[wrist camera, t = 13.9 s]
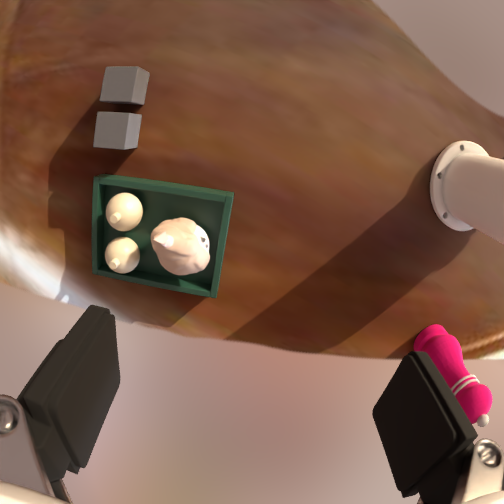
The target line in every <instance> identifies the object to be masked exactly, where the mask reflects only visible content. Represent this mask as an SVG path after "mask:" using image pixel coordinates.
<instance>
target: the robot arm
mask: <svg viewBox="0 0 504 504" xmlns="http://www.w3.org/2000/svg"><path fill="white" fill-rule="evenodd" d="M430 196H431V202H432V205H433V208H434V211H435V213H436V214H437V216H438V218H439V219H440V220H441V221H442V222H443V223H444V224H445V225H446V226H448V227H450V228H452V229H454V230H457V231H467V230H471V229H473V228H475V229H477V230H479V231H481V232H482V233H484V234H486V235H488V236H489V237H491V238H493V239H495V240H496V241H498V242H500V243H501V244H503V245H504V160H502V159H497V158H493V157H489V155H488V154H487V152H486V151H485V150H484V149H483V148H482V147H480V146H479V145H478V144H475V143H473V142H469V141H458V142H454V143H452V144H450V145H449V146H447V147H446V148H445V149H444V150H443V151H442V152H441V153H440V155H439V156H438V158H437V160H436V162H435V164H434V166H433V170H432V174H431V180H430ZM119 384H120V370H119V361H118V351H117V339H116V326H115V317H114V315H112V314H110V311H109V309H107V308H103V307H99V306H95V305H90V306H89V307H88V308H87V310H86V311H85V312H84V313H83V315H82V316H81V317H80V318H79V320H78V321H77V322H76V324H75V325H74V326H73V327H72V329H71V330H70V331H69V333H68V334H67V335H66V337H65V338H64V339H62V340H59V341H58V342H57V343H56V345H55V346H54V347H53V348H52V350H51V351H50V352H49V354H48V355H47V356H46V358H45V359H44V361H43V362H42V363H41V365H40V366H39V368H38V369H37V370H36V372H35V373H34V374H33V376H32V377H31V379H30V380H29V382H28V383H27V384H26V386H25V388H24V389H23V390H22V392H21V393H20V395H19V396H18V398H17V399H14V398H13V397H11V396H8V395H0V504H73V503H72V501H71V499H70V496H69V494H68V492H67V490H66V487H65V485H64V483H63V480H62V478H63V477H64V475H65V473H66V470H68V471H70V472H73V473H75V474H78V472H79V469H80V467H82V468H85V467H86V465H87V463H88V460H89V458H90V455H91V453H92V450H93V447H94V445H95V443H96V440H97V437H98V435H99V433H100V430H101V428H102V425H103V423H104V420H105V418H106V415H107V413H108V411H109V408H110V406H111V404H112V401H113V399H114V397H115V394H116V392H117V390H118V388H119ZM373 418H374V421H375V424H376V426H377V430H378V432H379V435H380V438H381V441H382V444H383V447H384V450H385V453H386V456H387V459H388V462H389V465H390V468H391V471H392V474H393V477H394V480H395V483H396V487H397V489H398V490H399V491H401V493H402V496H403V498H405V497H409V496H413V495H416V494H417V493H418V492H419V494H420V498H419V500H418V503H417V504H504V453H503V451H502V449H501V448H500V446H499V445H498V444H497V443H496V442H494V441H493V440H490V439H481V440H479V441H478V442H477V443H476V444H475V445H474V444H473V441H474V440H475V439H476V438H477V436H478V435H477V433H476V431H475V429H474V427H473V426H472V424H471V422H470V420H469V419H468V417H467V415H466V414H465V412H464V410H463V409H462V407H461V405H460V404H459V402H458V400H457V399H456V397H455V395H454V394H453V392H452V390H451V389H450V387H449V386H448V384H447V383H446V381H445V379H444V378H443V376H442V375H441V373H440V372H439V370H438V369H437V367H436V365H435V364H434V362H433V361H432V359H431V358H430V356H429V355H428V354H427V353H426V352H422V351H411V352H409V353H408V355H406V356H405V357H404V358H403V359H402V361H401V363H400V365H399V367H398V368H397V370H396V372H395V374H394V375H393V377H392V379H391V380H390V382H389V384H388V386H387V387H386V389H385V391H384V392H383V394H382V395H381V397H380V398H379V400H378V402H377V403H376V405H375V406H374V408H373Z"/></svg>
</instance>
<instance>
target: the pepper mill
mask: <svg viewBox="0 0 504 504" xmlns="http://www.w3.org/2000/svg"><path fill="white" fill-rule="evenodd" d="M414 351H422V352H426V353H427V354H428V355H429V356H430V358H431V359H432V361H433V362H434V364H435V365H436V367H437V369H438V370H439V372H440V373H441V375H442V376H443V378H444V379H445V381H446V383H447V384H448V386H449V387H450V389H451V390H452V392H453V394H454V395H455V397H456V399H457V400H458V402H459V404H460V405H461V407H462V409H463V410H464V412H465V414H466V415H467V417H468V419H469V420H470V422H471V424H474V423H476V422H477V424H478V426H480V427H484V426H486V425H487V424H488V422H489V417H488V415H486V414H487V413H488V412H489V410H490V408H491V404H492V394H491V391H490V390H489V388H488V387H487V386H485V385H482V384H479V380H478V379H477V378H476V376H475V375H470V374H469V373H468V371H467V370H466V368H465V366H464V363H463V358H462V351H461V347H460V344H459V343H458V341H457V339H456V338H455V337H454V336H452V335H448V333H447V332H446V331H445V329H444V328H443V327H442V326H440V325H431V326H428V327H427V328H425V329H424V330H422V331H421V332H420V333H419V335H418V336H417V338H416V339H415V342H414Z"/></svg>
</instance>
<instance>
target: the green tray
mask: <svg viewBox="0 0 504 504" xmlns="http://www.w3.org/2000/svg"><path fill="white" fill-rule="evenodd" d="M120 193H130V194H132V195H134V196H136V197H137V198H138V199H139V201H140V202H141V205H142V208H143V215H142V218H141V221H140V222H139V224H138V225H137V226H136V227H135V228H133V229H131V230H129V231H119V230H116V229H115V228H113V227H112V226H111V225H110V224H109V222H108V220H107V218H106V207H107V204H108V202H109V201H110V200H111V198H113V197H114V196H115V195H117V194H120ZM233 197H234V192H228V191H222V190H216V189H210V188H204V187H198V186H191V185H185V184H178V183H171V182H164V181H157V180H150V179H142V178H135V177H127V176H119V175H110V174H101V175H98V176H95V177H94V181H93V199H92V273H93V274H96V275H101V276H105V277H110V278H114V279H119V280H123V281H128V282H133V283H138V284H143V285H147V286H152V287H157V288H163V289H168V290H173V291H178V292H183V293H189V294H194V295H200V296H205V297H211V298H216V297H217V292H218V287H219V281H220V274H221V268H222V262H223V256H224V250H225V244H226V238H227V232H228V226H229V220H230V214H231V209H232V203H233ZM180 217H182V218H187V219H190V220H192V221H194V222H195V223H196V225H198V226H200V227H201V228H202V229H203V230H204V231H205V233H206V234H207V237H208V239H209V255H210V260H209V262H208V264H207V266H206V267H205V269H204V270H202V271H199V272H197V273H191V274H187V275H176V274H173V273H171V272H169V271H167V270H166V269H165V268H164V267H163V266H162V265H161V264H160V261H159V259H158V256H157V253H156V252H155V251H154V249H153V247H152V243H151V233H152V231H153V230H154V229H155V228H156V227H158V225H159V224H160V223H161V222H163V221H165V220H173V219H176V218H180ZM118 237H127V238H130V239H132V240H133V241H134V242H135V243H136V244H137V246H138V248H139V251H140V259H139V263H138V264H137V266H136V267H135V268H134V269H133V270H132V271H130V272H128V273H117V272H115V271H113V270H112V269H111V268H110V267H109V266H108V264H107V262H106V260H105V251H106V248H107V246H108V244H109V243H110V242H111V241H112V240H113V239H115V238H118Z"/></svg>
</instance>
